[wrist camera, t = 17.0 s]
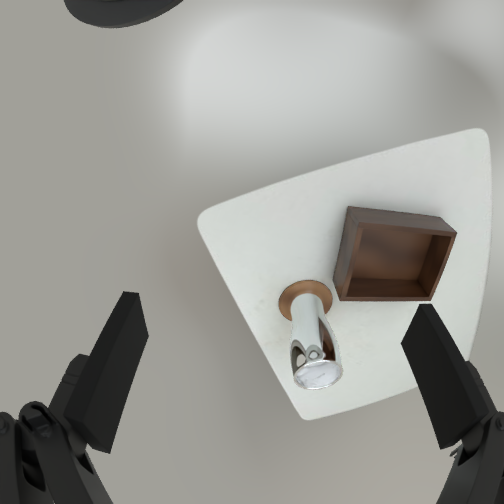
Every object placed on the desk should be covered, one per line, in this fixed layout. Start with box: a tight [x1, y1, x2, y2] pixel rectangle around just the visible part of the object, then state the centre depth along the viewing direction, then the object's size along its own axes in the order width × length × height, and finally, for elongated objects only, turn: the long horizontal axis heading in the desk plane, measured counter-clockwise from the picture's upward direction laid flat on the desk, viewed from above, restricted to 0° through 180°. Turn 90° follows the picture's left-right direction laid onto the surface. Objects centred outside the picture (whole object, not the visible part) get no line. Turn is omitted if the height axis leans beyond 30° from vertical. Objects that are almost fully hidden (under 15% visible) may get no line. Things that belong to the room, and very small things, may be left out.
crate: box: [333, 206, 457, 301], centre depth 41 cm, size 13×17×5 cm
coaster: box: [279, 280, 332, 321], centre depth 49 cm, size 9×9×1 cm
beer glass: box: [288, 290, 343, 390], centre depth 42 cm, size 7×7×15 cm
